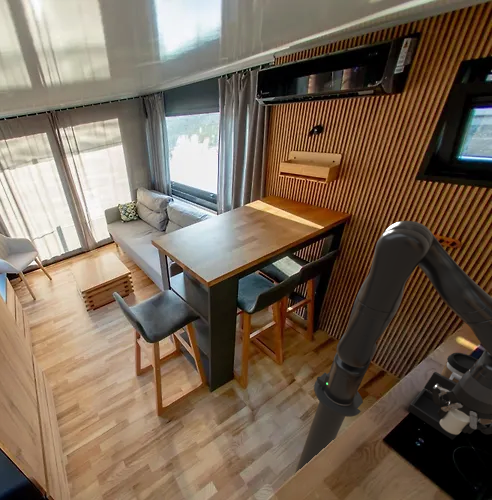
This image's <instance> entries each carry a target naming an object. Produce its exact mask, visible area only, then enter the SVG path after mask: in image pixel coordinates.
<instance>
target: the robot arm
mask: <svg viewBox="0 0 492 500" xmlns="http://www.w3.org/2000/svg"><path fill="white" fill-rule="evenodd" d="M417 267H418V268H419V269H420V270H421V271H422V272H423V273H424V275H425V276H426V277H427V278H428V280H429V282H430V283H431V284H432V286H433V288H434V290H435V291H436V292H437V294H438V296H439V297H440V298H441V300H442V301H443V303H444V304H445V305H446V306H447V307H448V308H449V309H450V310H451V311H452V312H453V313H454V314H455V315H456V316H457V317H458V318H459V319H461V321H462V322H464V323H465V324H466V325H467V326H468V327H469V328H470V329H471V331H472V333H473V334H474V336H475V337H476V339H477V340H478V341H479V343H480V345H482V348H483V349H484V350H483V352H482V354H481V356H479V358H477V359H478V360H477V361H476V362H475V364H474V365H473V366H472V367H471V369H470V370H469V371H467V372H466V373H465V374H464V375H463V376H462V378H461V379H460V380H459V382H458V383H457V384H456V385H455V387H454V388H453V389H449V390H447V389H444V388H442V386H441V385H440V384H436V385H435V386H434V387H433V388H432V393H433V403H434V404H436V405H439V406H440V409H439V411H438V412H437V414H438V415H439V417H440V418H441V419H442V418H443V417H444V416H445V415H446V414H447V412H448V411H450V410H451V411H452V410H455V409H457V410H459V411H461V412H463V413H465V414H466V415H467V416H469V417H470V418H469V421H470V423H469V424H468V425H467V426H466V427H465V428H464V429H463V430H462V431H461V432H462V433H463V434H468V435H471V434H472V433H473V432H474V431H476V430H477V431H480V432H481V433H482V434H484V435H492V422H490V423H489V422H487V423H484V424H483V423H482V422H481V420H490V421H492V296H491V295H490V294H489V293H488V292H486V291H485V290H484V289H483V288H482V287H481V286H480V285H478V283H476V282H475V281H474V280H473V278H471V276H469V275H468V274H467V273H466V272H465V271H464V270H463V268H461V266H460V265H459V264H458V263H457V262H456V261H455V260H454V259H453V258H452V256H451V255H450V254H449V253H448V252H447V251H446V250H445V248H444V247H443V245H442V244H441V243H440V242H439V240H438V239H437V237H436V235H434V233H432V231H431V230H430V229H429V228H428V227H427V226H426V225H424V224H422V223H420V222H417V221H413V220H400V221H397V222H395V223H392V224H391V225H389V226H388V227H387V228H386V229H385V230H384V232H383V233H382V234H381V235H380V237H379V238H378V239H377V241H376V244H375V247H374V254H373V259H372V263H371V267H370V269H369V273H368V275H367V277H366V278H365V280H364V281H363V283H362V284H361V286H360V289H358V292H357V295H356V298H355V300H354V302H353V305H352V309H351V313H350V315H349V319H348V324H347V328H346V331H345V332H344V333H343V334H342V336H341V338H340V339H339V341H338V343H337V344H336V347H335V349H336V350H335V351H336V352H335V354H334V357H333V360H332V362H331V366H330V369H329V371H328V373H327V372H324V373H323V374H322V375H321V376H320V375H319V376H317V377H316V380H318V382H317V383H318V384H320V385H321V386H322V390H323V391H324V393H325V395H326V396H327V398H328V399H329V400H330V401H332V402H333V403H335V404H337V405H340V406H349V405H351V404H352V402H353V400H354V397H355V395H356V396H357V391H358V392H359V388H360V386H361V384H362V381H363V380H364V377H365V375H366V373H367V371H368V369H369V367H370V365H371V362H372V361H373V358H374V356H375V354H376V352H377V347H378V345H377V341H378V340H379V338H380V337H381V336H382V335H383V334H384V332H385V331H386V329H387V328H388V327H389V325H390V324H391V322H392V321H393V319H394V317H395V316H396V314H397V313H398V310H399V308H400V305H401V303H402V300H403V297H404V291H405V285H406V283H407V281H408V280H409V278H410V277H411V275H412V274H413V273H414V271H415V269H416V268H417ZM444 394H447V396H448V398H449V400H450V401H448V402H446V403H445V402H444V401H443V396H442V395H444Z"/></svg>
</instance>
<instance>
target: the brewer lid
mask: <svg viewBox="0 0 492 500" xmlns="http://www.w3.org/2000/svg"><path fill="white" fill-rule="evenodd" d="M453 378H455V379H457V380H460V379H461V378H462V377H461V376H460V375H458V374H456V373H454V372H453V373H452V374H451V377H450V378H449V379H448V378H446V377H445V376H443V375H441V373H439V372H437V371H433V373H432V374H431V376H430V377H429V379H428V380H427V382H426V384H425V385H424V387H423V388H425V389H426V390H428V391H430V392H432V388H433V387H434V386H435V385H436V384H440V385H441V386H442V388H444V389H447V390H449V389H453V388H454V387H455V385H456V384H457V383H456V382H454V381H452V380H453ZM442 396H443V399H444V400H445V401H447V402H448V401H450V400H449V398H448V396H447V394H444V395H442Z"/></svg>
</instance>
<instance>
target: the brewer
mask: <svg viewBox="0 0 492 500" xmlns="http://www.w3.org/2000/svg"><path fill="white" fill-rule="evenodd" d="M443 401H444V402H445V403H446V402H447V401H445V400H444V399H443ZM439 409H440V406H439V405H436V404H434V403H433V393H432V392H430V391H428V390H427V389H425V388H424V387H423V388H422V389H421V391H420V392H419V393H418V394H417V396H416V397H415V398H414V399H413V400H412V402H411V403H410V404H409V406H408V407H407V408H406V410H407V411H408V413H409V412H410V413H411V414H412V415H414V416H415V417H417V418H418V419H420V420H421V421H423V422H424V423H426V424H427V425H429V426H431V427H432V428H434V429H435V430H436V431H438V432H440V433H441V434H442V435H444V436H446V437H447V438H449V439H450V440H451V441H453V440H454V439H455V438H457V436H458V435H459V434H457V435H456V434H451V433H449V432H447V431H446V430H444V429H443V428H442V427H441V425H440V420H441V418H440V417H439V415H438V414H437V412H438V411H439Z"/></svg>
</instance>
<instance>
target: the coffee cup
mask: <svg viewBox="0 0 492 500" xmlns="http://www.w3.org/2000/svg"><path fill="white" fill-rule="evenodd" d="M478 359H479V358H476V357H475V356H472V355H469V354H467V353H462V352H453V353H451V354H450V355H448V356H447V360H446V362H445V364H444V366H443V368H442V371H441V373H440V374H441V375H443V376H445V377H446V378H448V379H449V378H450V377H451V374H452V373H453V372H454V373H456V374H458V375H460V376H461V377H462V376H463V375H464V374H465V373H466V372H467V371H469V370H470V369H471V367H472V366H473V365H474V364H475V362H476V361H477V360H478ZM452 381H454V382H456V383H458V382H459V380H457V379H455V378H453V380H452Z"/></svg>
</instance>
